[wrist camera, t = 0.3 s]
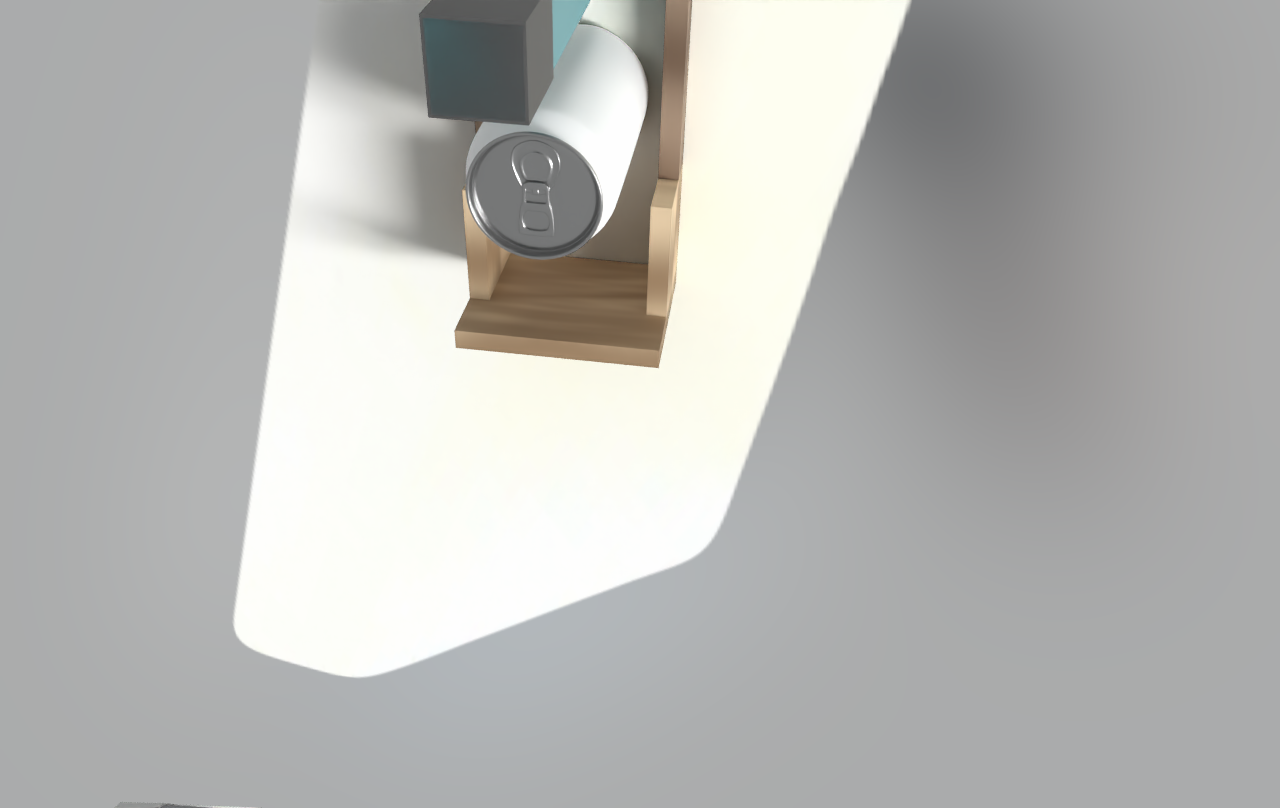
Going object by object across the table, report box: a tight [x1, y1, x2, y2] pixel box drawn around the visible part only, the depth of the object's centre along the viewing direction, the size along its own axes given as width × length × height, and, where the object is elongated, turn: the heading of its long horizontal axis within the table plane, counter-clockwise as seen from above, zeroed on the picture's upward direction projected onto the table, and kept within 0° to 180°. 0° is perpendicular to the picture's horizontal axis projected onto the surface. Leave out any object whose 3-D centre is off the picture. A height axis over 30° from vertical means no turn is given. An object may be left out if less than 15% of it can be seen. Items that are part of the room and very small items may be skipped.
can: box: [466, 24, 648, 260], centre depth 49 cm, size 6×6×12 cm
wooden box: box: [455, 0, 692, 368], centre depth 51 cm, size 20×10×8 cm, turn 178°
